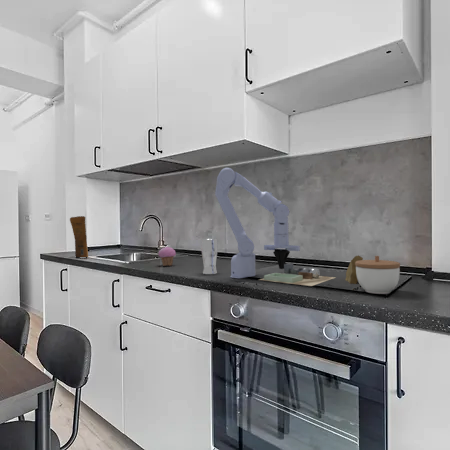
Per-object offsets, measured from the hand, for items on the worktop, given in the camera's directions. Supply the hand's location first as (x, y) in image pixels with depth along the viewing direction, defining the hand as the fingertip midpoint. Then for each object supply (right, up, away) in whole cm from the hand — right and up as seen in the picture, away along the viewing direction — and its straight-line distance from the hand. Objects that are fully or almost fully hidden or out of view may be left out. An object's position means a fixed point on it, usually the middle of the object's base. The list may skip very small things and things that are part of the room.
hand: (281, 268), depth 133 cm
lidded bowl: (+25, -3, -29) cm, 39 cm away
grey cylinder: (+9, -2, -8) cm, 12 cm away
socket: (+9, -3, -8) cm, 12 cm away
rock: (+21, -4, -16) cm, 27 cm away
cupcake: (-53, -4, +42) cm, 67 cm away
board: (+4, -3, -9) cm, 11 cm away
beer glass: (-29, -4, +14) cm, 33 cm away
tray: (-1, -4, -11) cm, 12 cm away
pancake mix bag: (-120, -5, +93) cm, 152 cm away
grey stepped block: (+3, -2, -3) cm, 5 cm away
